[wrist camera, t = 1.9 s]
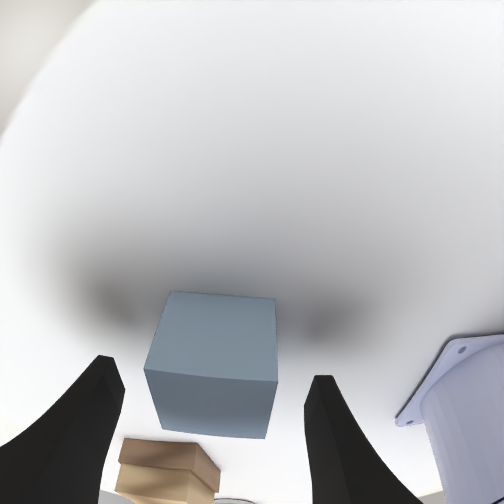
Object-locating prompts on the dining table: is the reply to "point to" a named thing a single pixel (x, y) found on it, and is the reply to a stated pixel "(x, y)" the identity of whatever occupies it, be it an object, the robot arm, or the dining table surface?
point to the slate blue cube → (214, 365)
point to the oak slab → (162, 486)
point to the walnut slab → (171, 458)
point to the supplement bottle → (231, 501)
